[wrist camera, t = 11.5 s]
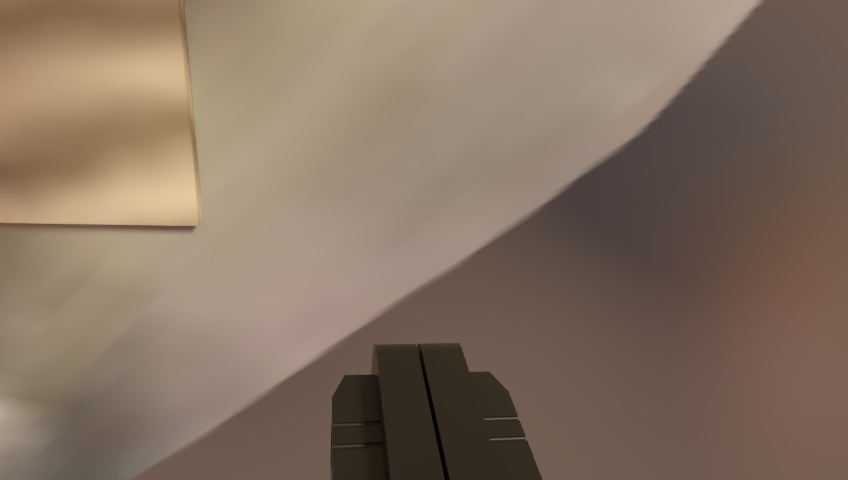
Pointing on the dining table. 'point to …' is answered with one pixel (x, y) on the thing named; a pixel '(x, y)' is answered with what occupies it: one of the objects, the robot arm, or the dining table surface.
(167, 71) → the board
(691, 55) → the dining table surface
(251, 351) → the dining table surface
